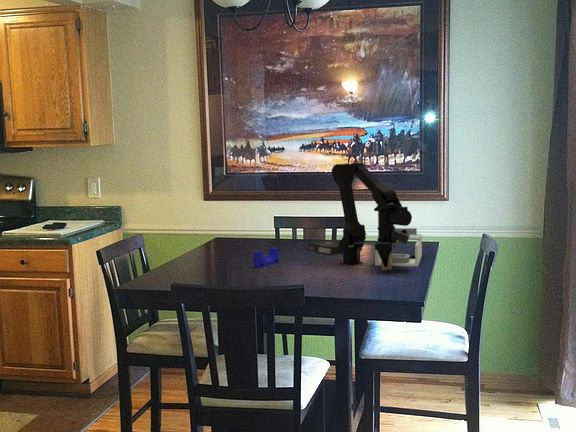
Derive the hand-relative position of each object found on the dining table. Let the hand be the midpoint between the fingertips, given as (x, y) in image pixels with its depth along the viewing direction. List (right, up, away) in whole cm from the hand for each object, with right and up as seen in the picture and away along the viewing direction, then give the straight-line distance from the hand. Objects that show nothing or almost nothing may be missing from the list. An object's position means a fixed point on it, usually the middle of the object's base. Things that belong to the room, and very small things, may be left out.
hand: (386, 265), depth 262 cm
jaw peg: (0, -1, 0) cm, 1 cm away
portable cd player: (-16, +2, +45) cm, 48 cm away
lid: (+9, +10, +23) cm, 26 cm away
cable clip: (-46, -1, +17) cm, 49 cm away
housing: (+8, +1, +18) cm, 19 cm away
